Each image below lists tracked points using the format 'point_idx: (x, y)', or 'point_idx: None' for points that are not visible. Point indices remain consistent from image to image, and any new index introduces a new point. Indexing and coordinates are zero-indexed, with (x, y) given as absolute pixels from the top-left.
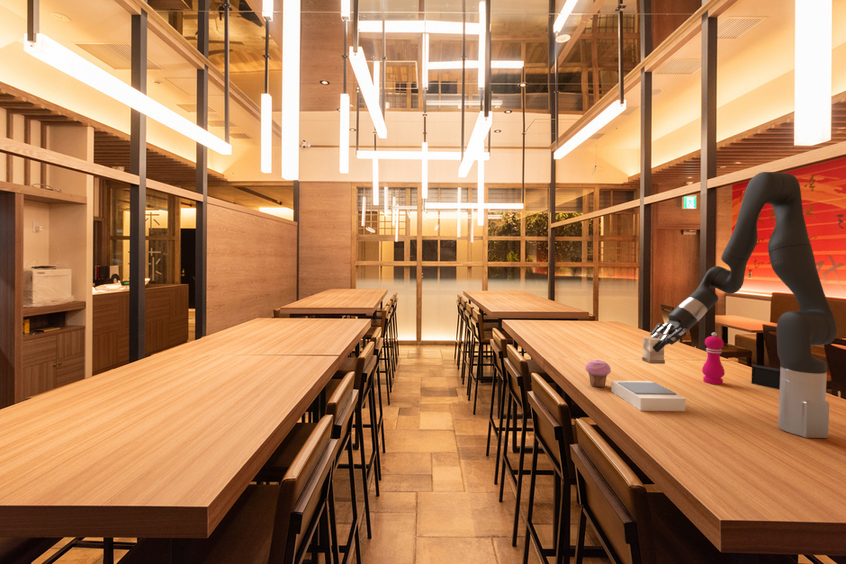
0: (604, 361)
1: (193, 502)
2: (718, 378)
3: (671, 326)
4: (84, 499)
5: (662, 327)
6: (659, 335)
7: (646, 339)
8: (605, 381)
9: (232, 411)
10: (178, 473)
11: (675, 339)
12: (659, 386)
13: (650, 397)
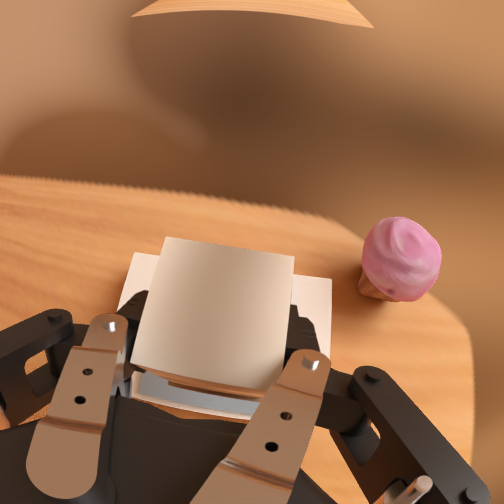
0: (417, 265)
1: (133, 15)
2: None
3: (38, 451)
4: (153, 4)
5: (256, 454)
6: (349, 464)
7: (232, 250)
8: (365, 287)
9: (249, 3)
10: (163, 7)
11: (31, 385)
12: (223, 397)
13: (131, 284)
